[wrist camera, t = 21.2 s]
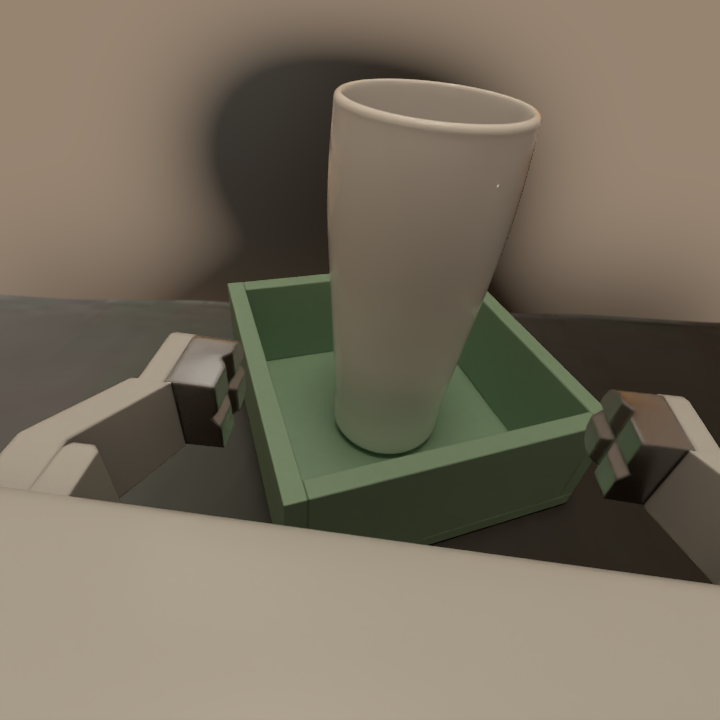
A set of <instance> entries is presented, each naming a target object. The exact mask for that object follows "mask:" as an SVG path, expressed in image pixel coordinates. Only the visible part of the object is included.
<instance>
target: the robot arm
mask: <svg viewBox="0 0 720 720" xmlns="http://www.w3.org/2000/svg"><path fill="white" fill-rule="evenodd" d="M243 357H244V351H243V344H242V343H241V342H240V341H235V340H228V339H222V338H215V337H208V336H202V335H193V334H186V333H179V332H174V333H172V334H170V335H169V336H168V337H167V339H166V340H165V342H164V343H163V344H162V346H161V347H160V349H159V350H158V351H157V353H156V354H155V356H154V357H153V358H152V360H151V361H150V363H149V364H148V365H147V367H146V368H145V370H144V371H143V372H142V374H141V375H140V377H139V378H130V379H128V380H126V381H124V382H122V383H120V384H118V385H116V386H113V387H111V388H109V389H107V390H105V391H103V392H101V393H99V394H97V395H95V396H93V397H91V398H89V399H87V400H85V401H83V402H81V403H79V404H77V405H75V406H73V407H71V408H68V409H66V410H64V411H62V412H60V413H58V414H56V415H54V416H52V417H50V418H48V419H46V420H44V421H42V422H40V423H38V424H36V425H34V426H32V427H30V428H28V429H26V430H24V431H21V432H19V433H18V434H17V435H16V436H15V438H14V439H13V440H12V441H11V442H10V443H9V444H8V445H7V447H6V448H5V449H4V450H3V451H2V452H1V453H0V720H720V449H719V447H718V445H717V444H716V442H715V441H714V439H713V438H712V436H711V435H710V433H709V432H708V430H707V428H706V427H705V425H704V424H703V422H702V421H701V419H700V418H699V416H698V415H697V413H696V411H695V410H694V408H693V407H692V405H691V404H690V402H689V401H688V400H686V399H685V398H683V397H680V396H670V395H661V394H658V395H655V394H648V393H640V392H631V391H623V390H615V389H610V390H609V391H608V392H606V393H605V394H604V396H603V398H602V399H601V401H600V403H601V406H602V408H603V410H601V411H599V412H598V413H596V414H594V415H592V416H591V418H590V420H589V422H588V424H587V426H586V431H585V437H584V439H585V448H586V451H587V454H588V456H589V457H590V458H591V459H592V460H593V461H594V462H595V463H596V464H597V465H598V467H597V469H596V470H595V472H594V474H595V476H596V479H597V482H598V485H599V487H600V490H601V493H602V496H603V498H604V499H611V500H617V501H623V502H629V503H636V504H642V505H643V507H644V508H645V509H646V511H647V512H648V513H649V514H650V515H651V516H652V517H653V518H654V519H655V520H656V521H657V523H658V524H659V525H660V526H661V527H662V528H663V529H664V530H665V531H666V532H667V534H668V535H669V536H670V537H671V538H672V539H673V540H674V541H675V542H676V543H677V544H678V546H679V547H680V548H681V549H682V550H683V551H684V552H685V553H686V554H687V555H688V556H689V558H690V559H691V560H692V561H693V562H694V563H695V564H696V565H697V566H698V567H699V568H700V570H701V571H702V572H703V573H704V574H705V575H706V576H707V577H708V578H709V579H710V581H711V582H712V583H713V584H707V583H699V582H692V581H685V580H678V579H670V578H663V577H656V576H648V575H641V574H634V573H627V572H619V571H612V570H605V569H597V568H590V567H583V566H575V565H568V564H560V563H553V562H546V561H538V560H531V559H524V558H516V557H509V556H502V555H494V554H487V553H480V552H473V551H465V550H458V549H451V548H444V547H436V546H429V545H422V544H415V543H407V542H400V541H393V540H386V539H378V538H371V537H364V536H357V535H349V534H342V533H335V532H327V531H320V530H313V529H306V528H298V527H291V526H284V525H276V524H269V523H262V522H255V521H247V520H240V519H233V518H225V517H218V516H211V515H204V514H196V513H189V512H182V511H174V510H167V509H160V508H152V507H145V506H138V505H131V504H123V503H121V502H120V500H119V498H121V497H122V496H123V495H124V494H126V493H127V492H128V491H129V490H131V489H132V488H133V487H134V486H136V485H137V484H138V483H139V482H141V481H142V480H143V479H144V478H146V477H147V476H148V475H149V474H151V473H152V472H153V471H154V470H156V469H157V468H158V467H160V466H161V465H162V464H163V463H165V462H166V461H167V460H168V459H170V458H171V457H172V456H173V455H175V454H176V453H177V452H178V451H180V450H181V449H182V448H183V447H185V446H186V444H195V445H204V446H214V447H223V448H224V446H225V444H226V442H227V439H228V437H229V435H230V432H231V430H232V428H233V425H234V424H233V416H232V415H233V414H235V413H236V412H238V411H239V410H240V408H241V406H242V403H243V401H244V396H245V391H246V371H245V369H244V368H243V367H242V366H241V365H240V364H241V362H242V360H243Z"/></svg>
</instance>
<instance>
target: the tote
mask: <svg viewBox="0 0 720 720" xmlns="http://www.w3.org/2000/svg"><path fill="white" fill-rule="evenodd" d="M228 293H229V302H230V310H231V319H232V328H233V336H234V340H235V341H240V342H241V343H242V344H243V351H244V357H243V360H242V362H241V364H240V365H241V366H242V367H243V368H244V369H245V371H246V391H245V396H244V400H245V405H246V409H247V414H248V418H249V422H250V427H251V431H252V436H253V440H254V445H255V449H256V454H257V458H258V463H259V467H260V472H261V476H262V481H263V485H264V489H265V494H266V498H267V503H268V507H269V512H270V516H271V521H272V524H276V525H284V526H291V527H298V528H306V529H313V530H320V531H327V532H335V533H342V534H349V535H357V536H364V537H371V538H378V539H386V540H393V541H400V542H407V543H415V544H422V545H429V544H433V543H436V542H439V541H442V540H446V539H449V538H452V537H455V536H459V535H462V534H465V533H468V532H472V531H475V530H478V529H481V528H485V527H488V526H491V525H494V524H498V523H501V522H504V521H507V520H511V519H514V518H517V517H520V516H524V515H527V514H530V513H533V512H537V511H540V510H543V509H546V508H550V507H553V506H556V505H559V504H563V503H565V502H566V501H567V500H568V498H569V497H570V495H571V493H572V492H573V490H574V489H575V487H576V486H577V484H578V483H579V481H580V479H581V478H582V476H583V475H584V473H585V472H586V470H587V469H588V467H589V466H590V464H591V463H592V461H593V460H592V459H591V458H590V457H589V456H588V454H587V451H586V448H585V439H584V437H585V431H586V426H587V424H588V422H589V420H590V418H591V416H592V415H594V414H596V413H598V412H599V411H601V410H603V408H602V406H601V404H600V403H599V402H598V401H597V400H596V399H595V398H594V397H593V396H592V395H591V394H590V393H589V392H588V391H587V390H586V389H585V388H584V387H583V386H582V385H581V384H580V383H579V382H578V381H577V380H576V379H575V378H574V377H573V376H572V375H571V374H570V373H569V372H568V371H567V370H566V369H565V368H564V367H563V366H562V365H561V364H560V363H559V362H558V361H557V360H556V359H555V358H554V357H553V356H552V355H551V354H550V353H549V352H548V351H547V350H546V349H545V348H544V347H543V346H542V345H541V344H540V343H539V342H538V341H537V340H536V339H535V338H534V337H533V336H532V335H531V334H530V333H529V332H528V331H527V330H526V329H525V328H524V327H523V326H522V325H521V324H520V323H519V322H517V321H516V320H515V319H514V318H513V317H512V316H511V315H510V314H509V313H508V312H507V311H506V310H505V309H504V308H503V307H502V306H501V305H500V304H499V303H498V302H497V301H496V300H495V299H494V298H493V297H492V296H491V295H490V294H489V293H488V292H486V295H485V297H484V300H483V302H482V305H481V307H480V309H479V312H478V314H477V317H476V319H475V322H474V324H473V326H472V329H471V331H470V334H469V336H468V339H467V341H466V344H465V346H464V349H463V351H462V354H461V356H460V358H459V361H458V363H457V366H456V368H455V371H454V373H453V376H452V378H451V381H450V383H449V386H448V388H447V391H446V394H445V396H444V399H443V401H442V404H441V408H440V411H439V415H438V418H437V422H436V425H435V428H434V430H433V432H432V433H431V435H430V436H429V438H428V439H427V440H426V441H425V442H424V443H422V444H421V445H420V446H418V447H416V448H415V449H412V450H410V451H407V452H403V453H398V454H381V453H375V452H372V451H368V450H366V449H363V448H361V447H359V446H357V445H356V444H354V443H353V442H351V441H350V440H349V439H348V438H347V437H346V436H345V435H344V434H343V433H342V432H341V430H340V429H339V427H338V425H337V423H336V420H335V416H334V389H335V380H334V354H333V333H332V312H331V293H330V274H323V275H312V276H303V277H292V278H282V279H272V280H262V281H252V282H244V284H243V282H239V283H230V284H228Z"/></svg>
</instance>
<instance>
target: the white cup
mask: <svg viewBox="0 0 720 720" xmlns="http://www.w3.org/2000/svg"><path fill="white" fill-rule="evenodd" d="M540 124H541V115H540V113H539V112H538V111H537V110H536V109H535V108H534V107H533V106H531V105H529V104H528V103H526V102H523V101H521V100H518V99H516V98H513V97H510V96H507V95H503V94H499V93H496V92H492V91H488V90H484V89H478V88H474V87H468V86H463V85H457V84H450V83H443V82H434V81H425V80H412V79H366V80H358V81H352V82H348V83H345V84H343V85H341V86H339V87H338V88H337V89H336V91H335V92H334V98H333V112H332V124H331V134H330V147H329V162H328V185H327V187H328V188H327V228H328V229H327V231H328V255H329V274H330V293H331V312H332V333H333V354H334V380H335V389H334V416H335V420H336V423H337V425H338V427H339V429H340V430H341V432H342V433H343V434H344V435H345V436H346V437H347V438H348V439H349V440H350V441H351V442H353V443H354V444H356V445H357V446H359V447H361V448H363V449H366V450H368V451H372V452H375V453H381V454H398V453H403V452H407V451H410V450H412V449H415V448H416V447H418V446H420V445H421V444H422V443H424V442H425V441H426V440H427V439H428V438H429V436H430V435H431V433H432V432H433V430H434V428H435V425H436V422H437V418H438V415H439V411H440V408H441V404H442V401H443V399H444V396H445V394H446V391H447V388H448V386H449V383H450V381H451V378H452V376H453V373H454V371H455V368H456V366H457V363H458V361H459V358H460V356H461V354H462V351H463V349H464V346H465V344H466V341H467V339H468V336H469V334H470V331H471V329H472V326H473V324H474V322H475V319H476V317H477V314H478V312H479V309H480V307H481V305H482V302H483V300H484V297H485V295H486V292H487V290H488V287H489V285H490V283H491V280H492V278H493V275H494V273H495V270H496V267H497V265H498V263H499V260H500V258H501V255H502V252H503V250H504V247H505V244H506V241H507V239H508V235H509V233H510V230H511V227H512V224H513V221H514V217H515V215H516V211H517V209H518V205H519V202H520V198H521V195H522V192H523V189H524V185H525V181H526V178H527V174H528V170H529V166H530V163H531V159H532V155H533V151H534V147H535V143H536V138H537V135H538V131H539V127H540Z"/></svg>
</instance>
